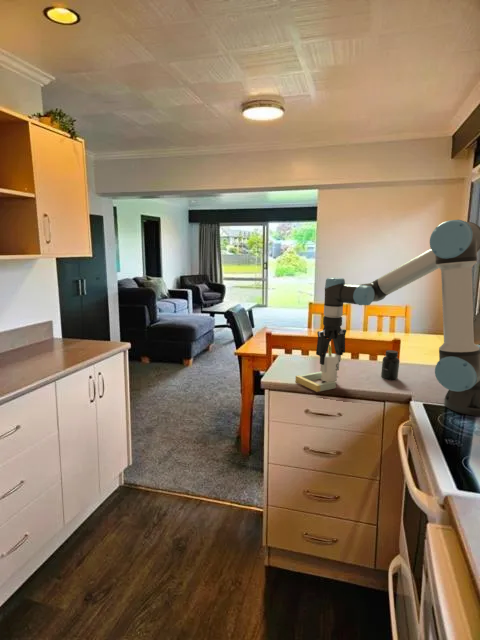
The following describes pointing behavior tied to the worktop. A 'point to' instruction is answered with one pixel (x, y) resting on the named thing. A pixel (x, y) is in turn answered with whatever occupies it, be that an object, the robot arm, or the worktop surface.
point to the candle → (330, 367)
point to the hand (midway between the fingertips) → (329, 370)
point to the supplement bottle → (390, 365)
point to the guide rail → (316, 387)
